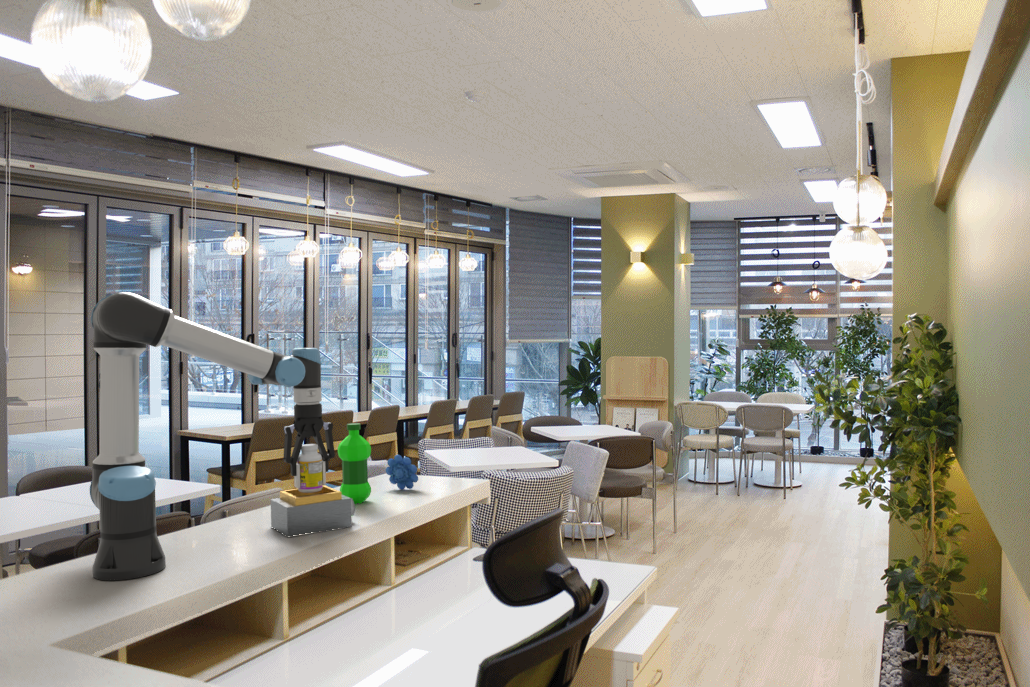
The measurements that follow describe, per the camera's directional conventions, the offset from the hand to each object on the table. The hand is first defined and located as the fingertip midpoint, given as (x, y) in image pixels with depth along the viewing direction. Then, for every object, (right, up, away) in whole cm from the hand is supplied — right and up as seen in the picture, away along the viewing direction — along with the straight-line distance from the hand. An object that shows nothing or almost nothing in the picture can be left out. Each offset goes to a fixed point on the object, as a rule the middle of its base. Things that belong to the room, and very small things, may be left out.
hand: (310, 485), depth 221 cm
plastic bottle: (+6, -11, +32) cm, 35 cm away
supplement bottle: (0, -2, 0) cm, 2 cm away
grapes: (+18, -11, +50) cm, 54 cm away
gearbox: (+2, -12, +1) cm, 12 cm away
